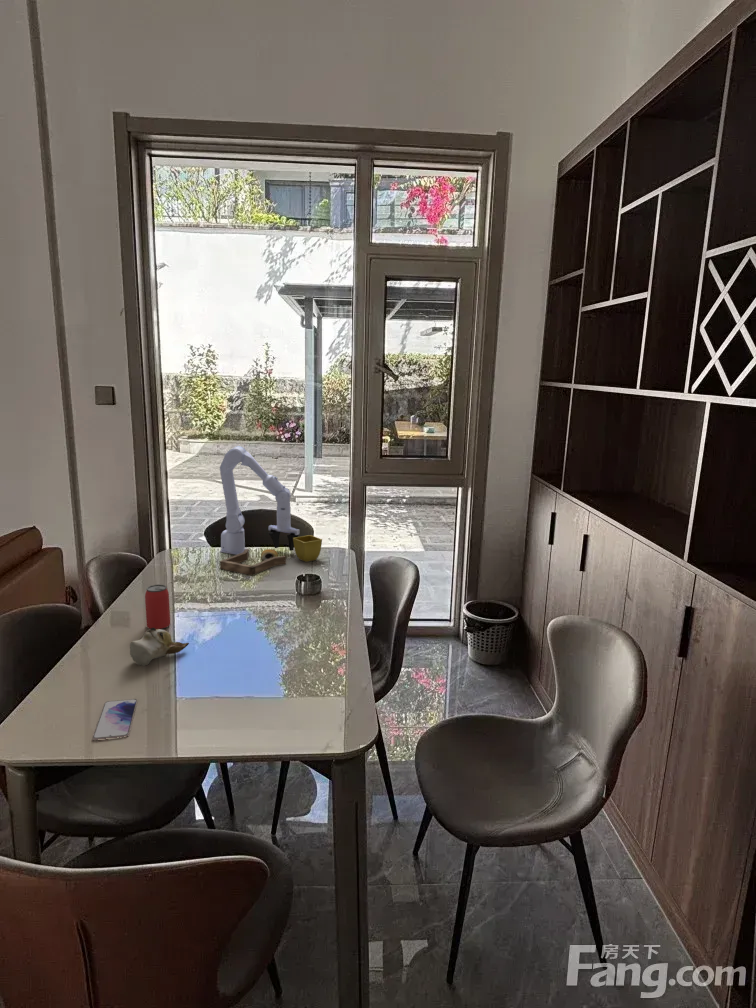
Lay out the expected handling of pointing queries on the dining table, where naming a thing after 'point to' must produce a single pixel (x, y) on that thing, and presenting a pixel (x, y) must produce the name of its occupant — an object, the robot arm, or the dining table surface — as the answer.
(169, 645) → the ceramic sculpture
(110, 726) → the smartphone
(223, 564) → the holder
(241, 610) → the dining table surface
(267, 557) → the pastry
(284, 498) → the robot arm
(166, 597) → the beer can
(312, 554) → the flower pot
